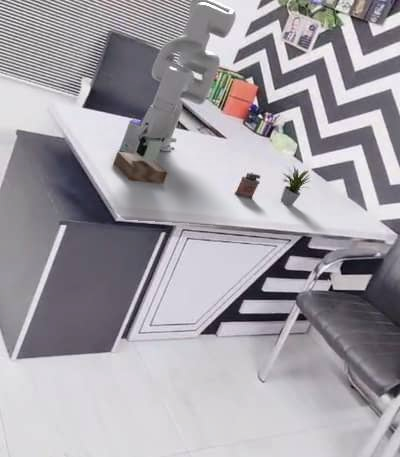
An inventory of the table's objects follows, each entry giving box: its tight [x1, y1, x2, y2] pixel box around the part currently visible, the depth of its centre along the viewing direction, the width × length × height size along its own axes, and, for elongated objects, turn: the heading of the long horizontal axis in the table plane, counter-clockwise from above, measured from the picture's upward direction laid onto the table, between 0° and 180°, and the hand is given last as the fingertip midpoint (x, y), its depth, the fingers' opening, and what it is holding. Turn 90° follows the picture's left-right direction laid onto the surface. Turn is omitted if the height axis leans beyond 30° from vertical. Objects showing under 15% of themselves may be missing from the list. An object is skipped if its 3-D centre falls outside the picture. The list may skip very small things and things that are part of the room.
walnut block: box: [113, 151, 169, 185], centre depth 181 cm, size 14×12×5 cm
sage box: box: [134, 137, 163, 161], centre depth 178 cm, size 6×6×7 cm
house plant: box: [280, 166, 312, 207], centre depth 217 cm, size 14×14×16 cm
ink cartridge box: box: [119, 115, 147, 154], centre depth 194 cm, size 10×6×14 cm, turn 78°
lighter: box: [234, 172, 261, 200], centre depth 203 cm, size 8×3×10 cm, turn 117°
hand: (145, 153), depth 179 cm, fingers closed on sage box, 5 cm apart
